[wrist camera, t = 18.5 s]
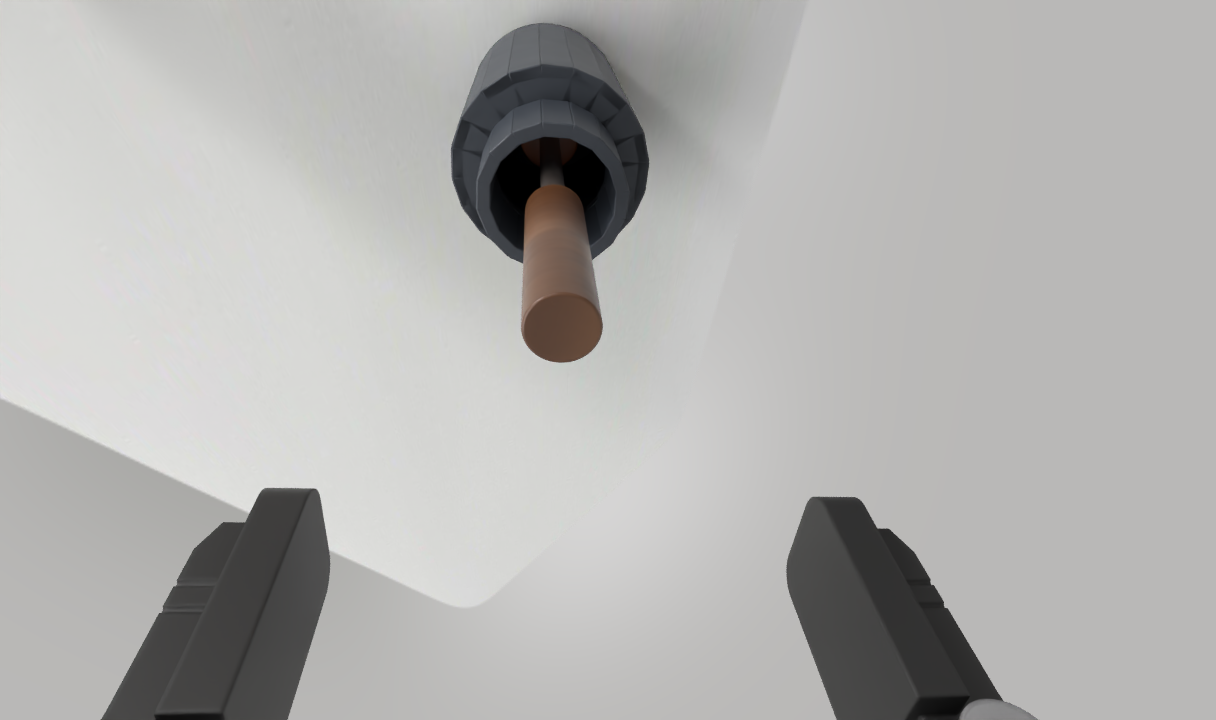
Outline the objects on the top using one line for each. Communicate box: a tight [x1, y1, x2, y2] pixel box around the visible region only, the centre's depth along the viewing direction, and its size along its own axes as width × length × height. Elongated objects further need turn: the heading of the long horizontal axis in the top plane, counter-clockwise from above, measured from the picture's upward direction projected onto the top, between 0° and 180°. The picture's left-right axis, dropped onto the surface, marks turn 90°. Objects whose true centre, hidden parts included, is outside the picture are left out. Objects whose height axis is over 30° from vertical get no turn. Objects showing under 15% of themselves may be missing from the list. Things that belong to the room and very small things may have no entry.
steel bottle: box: [451, 23, 649, 263], centre depth 31 cm, size 8×8×16 cm
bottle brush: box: [521, 137, 603, 363], centre depth 27 cm, size 3×3×24 cm
